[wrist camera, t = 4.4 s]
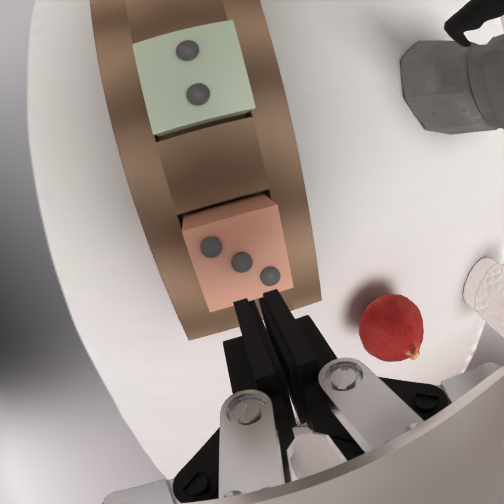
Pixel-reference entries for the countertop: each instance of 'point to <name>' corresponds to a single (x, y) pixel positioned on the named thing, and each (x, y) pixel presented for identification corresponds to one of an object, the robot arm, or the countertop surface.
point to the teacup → (310, 454)
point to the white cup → (487, 292)
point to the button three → (238, 250)
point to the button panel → (204, 150)
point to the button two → (193, 77)
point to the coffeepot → (458, 75)
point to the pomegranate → (392, 328)
